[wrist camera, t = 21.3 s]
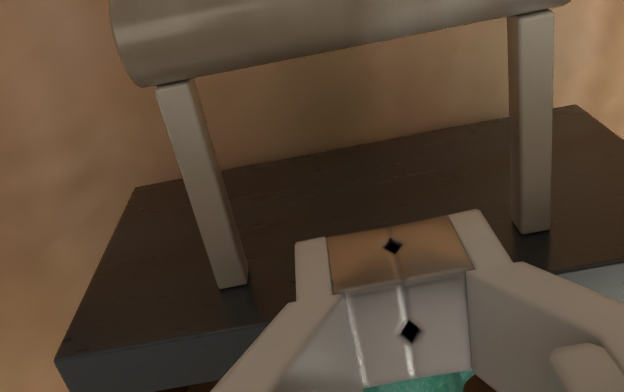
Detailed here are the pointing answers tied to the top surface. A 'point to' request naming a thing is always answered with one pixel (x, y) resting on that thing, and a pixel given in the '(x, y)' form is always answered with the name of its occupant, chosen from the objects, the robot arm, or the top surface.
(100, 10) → the top surface
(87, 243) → the top surface
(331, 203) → the drawer
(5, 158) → the top surface
